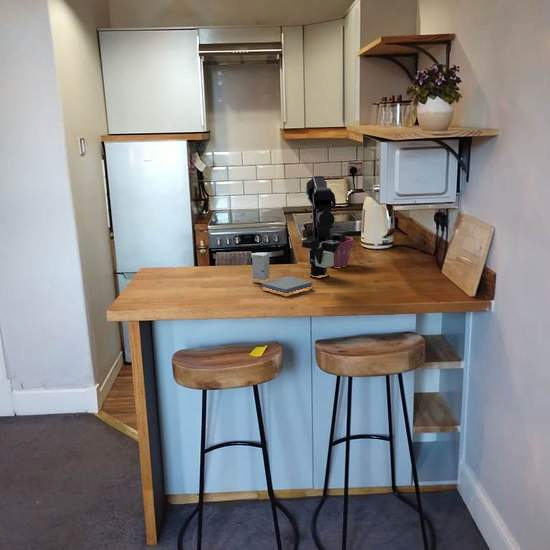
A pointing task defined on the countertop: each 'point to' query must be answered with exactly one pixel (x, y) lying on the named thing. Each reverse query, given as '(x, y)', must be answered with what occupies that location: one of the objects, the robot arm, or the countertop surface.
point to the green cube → (326, 259)
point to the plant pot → (343, 252)
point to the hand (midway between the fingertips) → (324, 262)
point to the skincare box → (260, 266)
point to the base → (287, 284)
